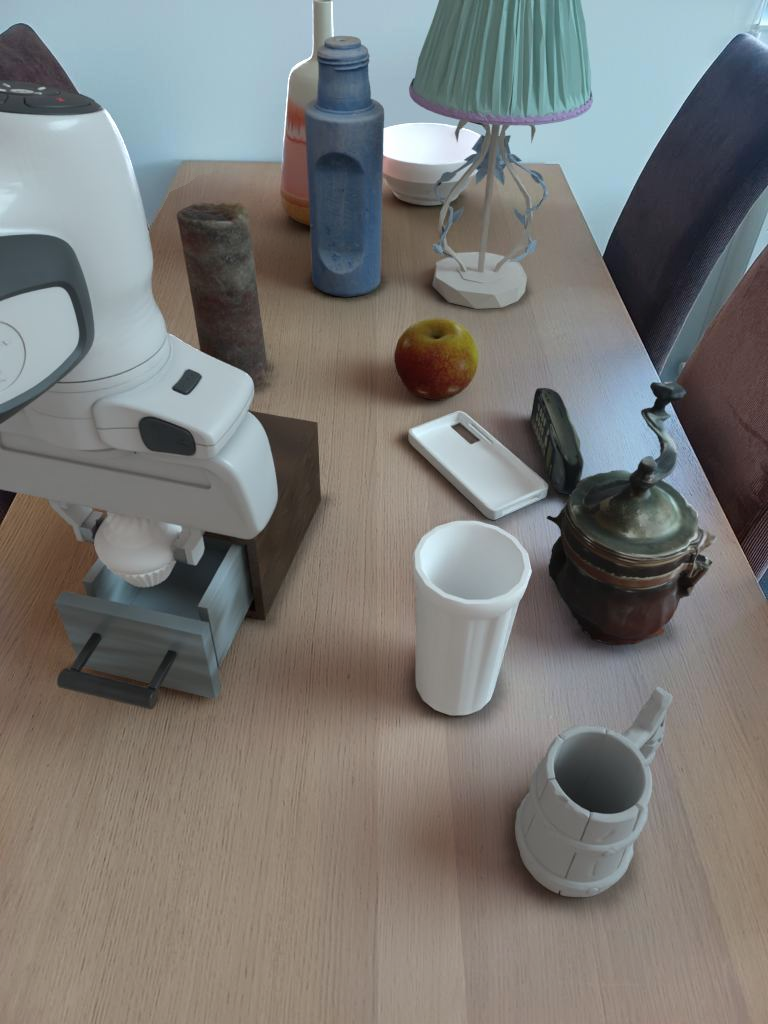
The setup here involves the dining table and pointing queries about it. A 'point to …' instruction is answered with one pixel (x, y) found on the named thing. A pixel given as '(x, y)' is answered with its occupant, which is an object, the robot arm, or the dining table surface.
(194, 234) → the dark brown hollow tube
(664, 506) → the coffee grinder
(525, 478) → the phone case
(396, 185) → the bowl
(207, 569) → the drawer
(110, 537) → the muffin
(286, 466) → the cabinet
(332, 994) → the dining table surface
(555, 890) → the mug
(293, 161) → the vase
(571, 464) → the mobile phone
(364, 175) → the bottle
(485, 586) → the cup
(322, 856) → the dining table surface
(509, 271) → the table lamp
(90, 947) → the dining table surface
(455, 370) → the fruit
